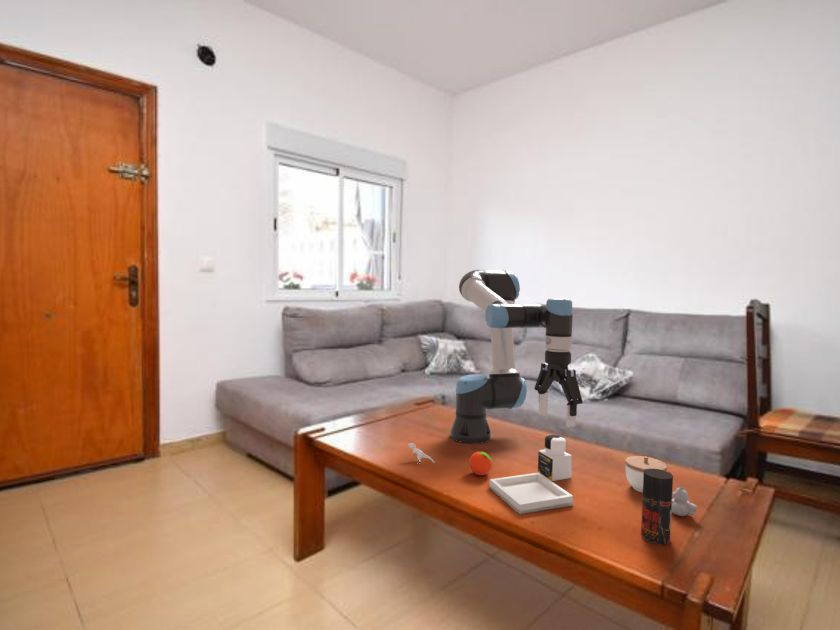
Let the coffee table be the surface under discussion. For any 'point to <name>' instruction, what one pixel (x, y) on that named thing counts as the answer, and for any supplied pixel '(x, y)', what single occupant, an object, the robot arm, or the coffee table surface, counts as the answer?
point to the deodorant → (656, 506)
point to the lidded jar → (640, 469)
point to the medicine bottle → (554, 459)
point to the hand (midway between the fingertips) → (556, 420)
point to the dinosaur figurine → (419, 452)
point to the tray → (530, 493)
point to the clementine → (480, 463)
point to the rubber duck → (682, 503)
